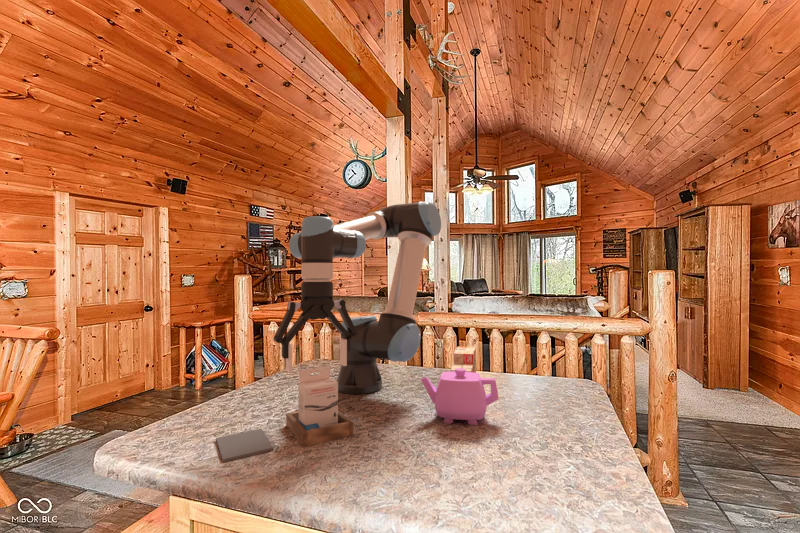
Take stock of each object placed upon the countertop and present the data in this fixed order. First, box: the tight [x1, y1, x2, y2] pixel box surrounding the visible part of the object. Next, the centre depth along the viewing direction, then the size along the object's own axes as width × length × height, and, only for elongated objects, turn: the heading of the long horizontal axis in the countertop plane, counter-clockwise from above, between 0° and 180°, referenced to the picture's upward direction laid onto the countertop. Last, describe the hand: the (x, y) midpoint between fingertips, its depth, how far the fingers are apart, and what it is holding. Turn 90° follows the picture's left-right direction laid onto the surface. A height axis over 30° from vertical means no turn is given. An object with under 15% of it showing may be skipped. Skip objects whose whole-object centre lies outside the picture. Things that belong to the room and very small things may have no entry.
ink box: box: [298, 365, 339, 431], centre depth 96 cm, size 8×5×15 cm, turn 123°
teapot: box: [420, 368, 499, 426], centre depth 104 cm, size 20×12×13 cm, turn 80°
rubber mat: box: [215, 428, 274, 463], centre depth 88 cm, size 10×12×1 cm
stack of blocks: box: [449, 345, 477, 373], centre depth 126 cm, size 21×6×12 cm, turn 165°
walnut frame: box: [285, 409, 354, 448], centre depth 96 cm, size 12×14×3 cm
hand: (317, 368), depth 96 cm, fingers open, 13 cm apart
